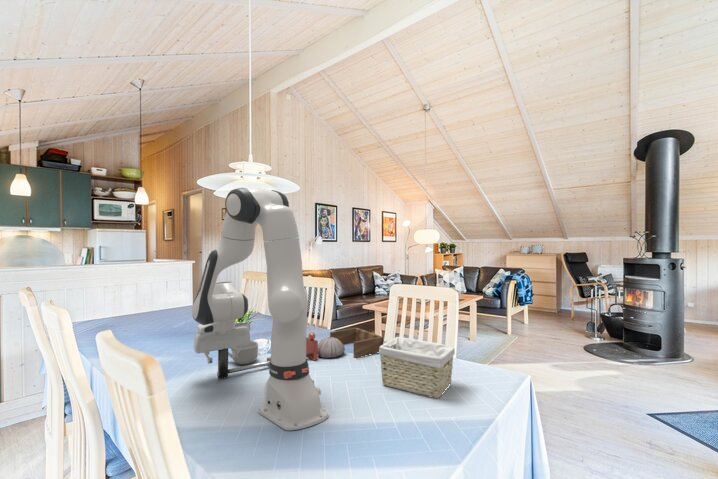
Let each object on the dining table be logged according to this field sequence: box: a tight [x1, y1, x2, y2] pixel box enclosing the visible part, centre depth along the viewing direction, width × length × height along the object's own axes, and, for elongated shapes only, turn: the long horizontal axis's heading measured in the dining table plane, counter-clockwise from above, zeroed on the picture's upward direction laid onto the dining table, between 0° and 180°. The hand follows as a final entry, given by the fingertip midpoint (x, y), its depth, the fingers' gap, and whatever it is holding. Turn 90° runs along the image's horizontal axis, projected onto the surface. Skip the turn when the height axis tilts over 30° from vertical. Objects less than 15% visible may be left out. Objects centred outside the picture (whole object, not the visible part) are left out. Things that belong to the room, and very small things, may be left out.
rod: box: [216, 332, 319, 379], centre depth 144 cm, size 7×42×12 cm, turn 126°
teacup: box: [228, 340, 259, 366], centre depth 150 cm, size 14×11×8 cm
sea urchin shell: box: [318, 336, 346, 359], centre depth 161 cm, size 13×14×8 cm
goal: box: [329, 327, 384, 359], centre depth 169 cm, size 22×16×7 cm
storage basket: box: [378, 336, 456, 399], centre depth 127 cm, size 24×16×15 cm
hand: (223, 360), depth 133 cm, fingers open, 8 cm apart
